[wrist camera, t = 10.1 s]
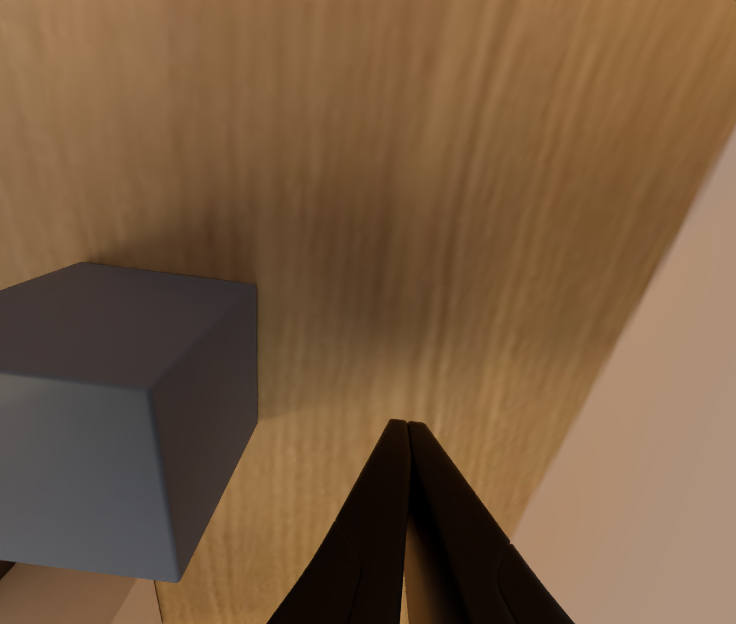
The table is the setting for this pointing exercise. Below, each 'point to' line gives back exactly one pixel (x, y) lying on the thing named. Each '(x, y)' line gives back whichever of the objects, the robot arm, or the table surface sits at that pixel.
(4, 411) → the slate block
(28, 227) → the table surface
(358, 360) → the table surface
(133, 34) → the table surface
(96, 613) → the cream block
